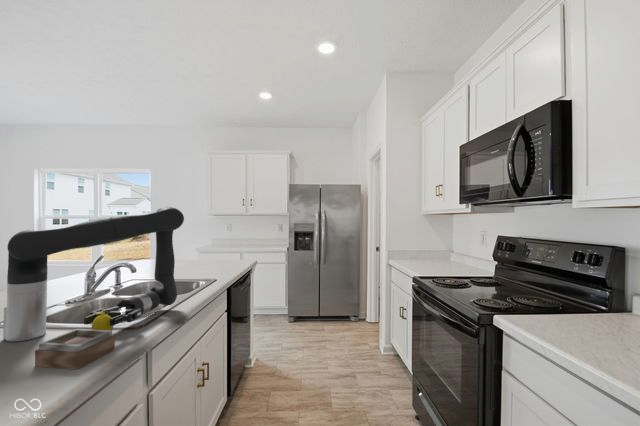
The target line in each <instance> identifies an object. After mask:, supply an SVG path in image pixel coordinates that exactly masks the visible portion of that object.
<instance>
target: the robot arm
mask: <svg viewBox="0 0 640 426" xmlns="http://www.w3.org/2000/svg"><path fill="white" fill-rule="evenodd" d="M184 221H185V217H184V214H183V212H181V211H180V210H179V209H178V208H176V207H172V206H161V207H160V208H158V209H157V210H156V211H155V212H151V213H145V214H134V215H133V214H131V215H113V216H108V217H107V216H106V217H101V218H96V219H90V220H87V221H83V222H79V223H76V224H73V225H70V226H66V227H59V228H53V229H52V228H51V229H43V230H42V229H41V230H34V229H32V230H31V229H28V230H27V229H26V230H22V231H19V232H17V233H16V234H14V235H13V236H12V237H10V239H9V241H8V243H7V251H8V253H7V254H8V255H7V257H8V259H7V276H6V277H7V278H6V279H7V280H6V281H7V283H6V306H5V307H4V308H3V328H2V329H3V333H2V334H3V335H2V336H3V337H2V339H3V340H5V341H6V342H13V343H14V342H25V341H29V340H34V339H38V338H39V337H42V336H45V334H46V333H47V311H48V310H47V300H48V299H47V298H48V256H50V255H54V254H58V253H62V252H65V251H69V250H75V249H82V248H90V247H96V246H102V245H107V244H111V243H116V242H120V241H124V240H130V239H132V238H136V237H140V236H142V235H147V234H153V233H155V242H156V243H155V247H156V250H155V265H154V280H155V281H156V282H158V283H161V284H162V285H155V286H152V287H150V288H149V289H148V290H147V291H146V292H143V293H140V294H135V295H133V296H130V297H127V298H124V299H122V300H120V301H119V302H118V303H117V304H116V306H112V307H110V308H107V307H106V306H105V307H102V308H97V309H95V310H91V311H90V312H89V315H88V316H85V317H84V318H83V324H84V325H90V324H92V323H93V321H94V319H95V318H96V317H98V316H99V315H101V314H103V313H104V314H106V315H109V316H110V317H111V319H110V326H113V327H114V326H116V325H118V324H120V323H122V324H123V323H131V322H133V321H136V320H138V319H140V318H141V317H142V316H143V315H145V314H146V313H148V312H150V311H153V310H154V309H156V308H158V307H159V306H160V305H162V306H163V305H165V306H172V305H173V304H174V303H175V302H176V300H177V298H178V289H177V286H176V280H175V273H174V272H175V261H176V260H175V252H174V244H173V242H174V241H173V235H174V231H176V230H177V229H179V228H180V227H182V225H183V224H184Z"/></svg>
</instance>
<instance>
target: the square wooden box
mask: <svg viewBox="0 0 640 426" xmlns="http://www.w3.org/2000/svg"><path fill="white" fill-rule="evenodd" d="M115 339H116V335H114V334H113V330H112V331H110V330H92V329H89V328H86V329H85V328H75V329H72V330H70V331H68V332H65V333H63V334H60V335H58V336H56V337H55V336H54V337H53V338H49V339H47V340H46V341H42V342H40V343H38V349H35V351H34V367H38V368H39V367H40V368H55V369H67V370H80V369H81V368H83V367H85V366H87V365H88V364H91V363H92V362H94V361H96V360H98V359H100V358H102V357H104V356H105V355H107V354H109V353H110V352H112V351H114V350H115V347H116V343H115V342H116V340H115Z"/></svg>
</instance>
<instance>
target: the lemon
mask: <svg viewBox="0 0 640 426" xmlns="http://www.w3.org/2000/svg"><path fill="white" fill-rule="evenodd" d="M110 319H111V317H110V316H109V315H108V314H104V313H103V314H101V315H99V316H98V317H96V318H95V319H94V321H93V322H92V323H91V329H92V330H110V331H112V332H113V330H114V326H110Z"/></svg>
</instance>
